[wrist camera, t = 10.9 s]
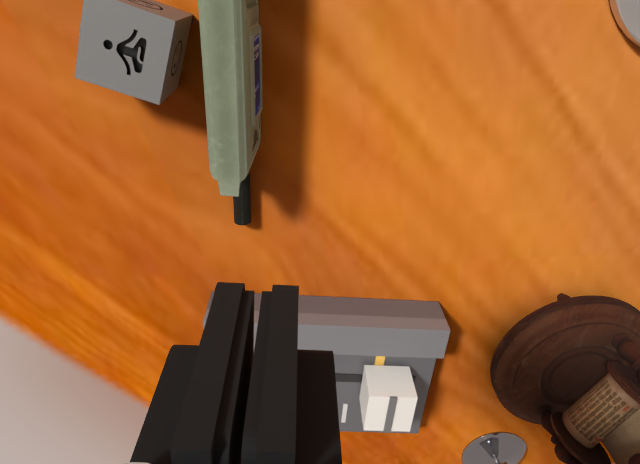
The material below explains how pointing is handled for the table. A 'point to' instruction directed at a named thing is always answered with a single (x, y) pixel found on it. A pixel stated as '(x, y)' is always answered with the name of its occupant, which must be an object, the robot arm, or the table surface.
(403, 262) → the table surface
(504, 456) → the wine glass
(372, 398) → the fader knob
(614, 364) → the scroll
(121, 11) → the dice cube
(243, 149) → the handheld radio
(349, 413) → the console
